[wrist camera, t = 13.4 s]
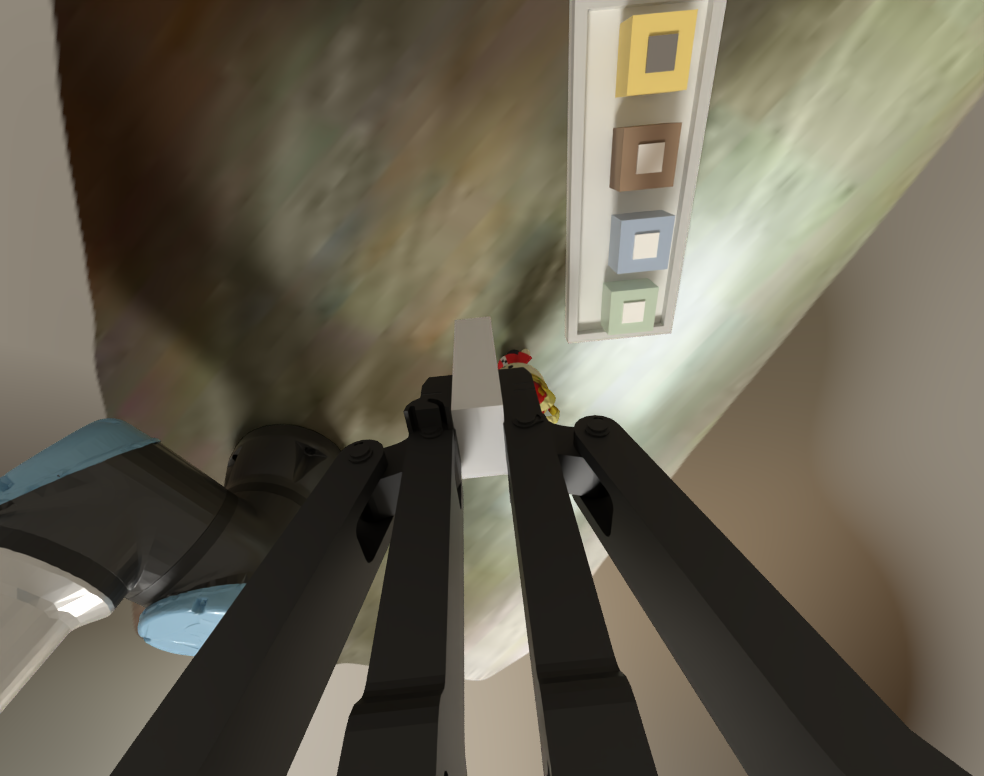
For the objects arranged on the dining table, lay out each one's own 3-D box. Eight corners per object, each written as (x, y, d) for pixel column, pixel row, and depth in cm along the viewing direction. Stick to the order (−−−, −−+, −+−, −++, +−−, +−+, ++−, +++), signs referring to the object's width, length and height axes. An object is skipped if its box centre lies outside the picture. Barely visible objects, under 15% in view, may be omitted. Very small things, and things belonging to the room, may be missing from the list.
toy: (503, 323, 48) (518, 393, 35) (552, 351, 50) (582, 426, 38) (471, 368, 51) (474, 448, 38) (519, 393, 54) (536, 476, 41)
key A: (615, 97, 35) (627, 95, 33) (619, 23, 33) (634, 14, 30) (670, 92, 35) (687, 89, 33) (679, 18, 33) (699, 8, 30)
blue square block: (607, 265, 42) (617, 274, 39) (611, 214, 39) (622, 221, 37) (655, 260, 42) (668, 269, 39) (661, 209, 39) (676, 215, 37)
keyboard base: (564, 336, 49) (568, 343, 48) (569, -1, 33) (575, -8, 32) (664, 326, 50) (671, 333, 48) (716, -15, 33) (730, -23, 32)
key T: (609, 187, 39) (620, 192, 36) (613, 127, 37) (625, 128, 34) (659, 182, 39) (674, 186, 36) (666, 122, 37) (683, 122, 34)
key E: (600, 324, 47) (608, 336, 44) (603, 282, 44) (612, 292, 41) (642, 319, 47) (653, 331, 44) (647, 278, 44) (659, 287, 41)
